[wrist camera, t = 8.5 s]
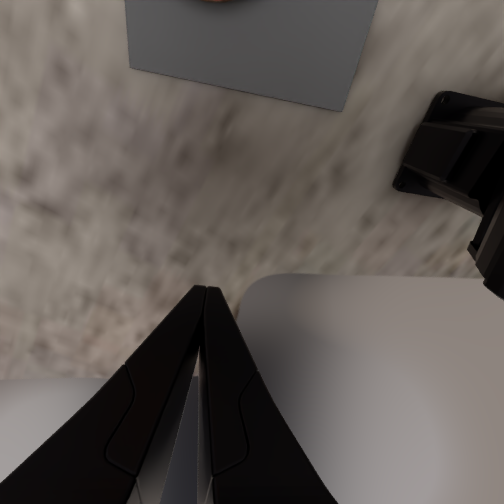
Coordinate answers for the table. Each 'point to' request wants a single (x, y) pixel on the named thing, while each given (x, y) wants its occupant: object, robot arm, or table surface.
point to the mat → (254, 44)
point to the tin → (216, 0)
